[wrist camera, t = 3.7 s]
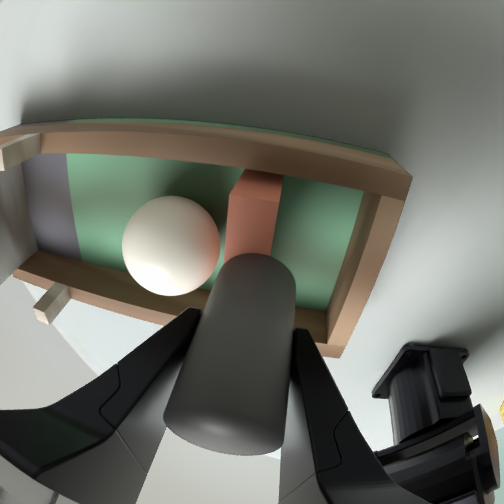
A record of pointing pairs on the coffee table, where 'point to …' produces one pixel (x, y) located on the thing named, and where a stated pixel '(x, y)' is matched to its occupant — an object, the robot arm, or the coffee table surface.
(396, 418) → the robot arm
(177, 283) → the ball
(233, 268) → the cylinder
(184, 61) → the coffee table surface
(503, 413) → the candy box
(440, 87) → the coffee table surface
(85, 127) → the tray
